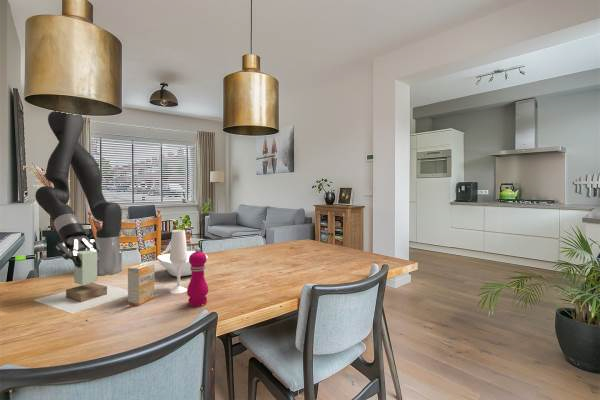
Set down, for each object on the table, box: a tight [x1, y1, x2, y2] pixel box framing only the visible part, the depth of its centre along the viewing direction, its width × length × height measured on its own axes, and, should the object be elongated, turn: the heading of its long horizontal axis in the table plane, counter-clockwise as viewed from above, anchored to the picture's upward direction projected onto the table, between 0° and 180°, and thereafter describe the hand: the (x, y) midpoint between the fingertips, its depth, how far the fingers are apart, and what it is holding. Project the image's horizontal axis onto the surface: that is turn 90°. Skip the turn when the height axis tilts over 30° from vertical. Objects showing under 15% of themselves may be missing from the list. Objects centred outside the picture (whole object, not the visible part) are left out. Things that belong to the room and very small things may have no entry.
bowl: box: [157, 250, 209, 278], centre depth 144 cm, size 21×21×9 cm
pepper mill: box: [186, 247, 209, 307], centre depth 109 cm, size 7×7×20 cm
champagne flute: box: [169, 229, 188, 295], centre depth 121 cm, size 7×7×24 cm
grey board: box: [33, 282, 128, 315], centre depth 112 cm, size 22×24×1 cm
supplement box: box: [127, 262, 155, 306], centre depth 110 cm, size 8×5×13 cm, turn 168°
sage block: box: [73, 250, 98, 286], centre depth 111 cm, size 5×5×11 cm
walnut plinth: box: [65, 282, 107, 302], centre depth 111 cm, size 9×9×3 cm
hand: (88, 264), depth 110 cm, fingers closed on sage block, 5 cm apart
